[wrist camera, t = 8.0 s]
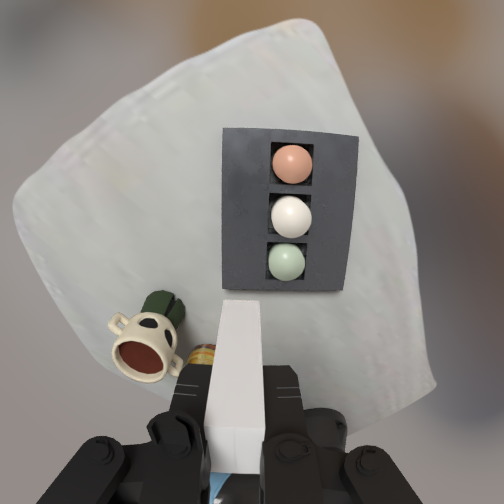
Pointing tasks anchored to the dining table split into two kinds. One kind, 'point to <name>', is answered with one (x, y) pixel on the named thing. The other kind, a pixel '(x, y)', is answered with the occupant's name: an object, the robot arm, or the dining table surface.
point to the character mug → (149, 339)
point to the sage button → (285, 260)
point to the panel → (317, 189)
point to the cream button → (290, 216)
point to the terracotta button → (292, 164)
